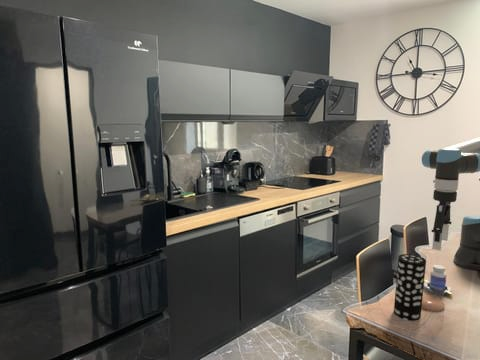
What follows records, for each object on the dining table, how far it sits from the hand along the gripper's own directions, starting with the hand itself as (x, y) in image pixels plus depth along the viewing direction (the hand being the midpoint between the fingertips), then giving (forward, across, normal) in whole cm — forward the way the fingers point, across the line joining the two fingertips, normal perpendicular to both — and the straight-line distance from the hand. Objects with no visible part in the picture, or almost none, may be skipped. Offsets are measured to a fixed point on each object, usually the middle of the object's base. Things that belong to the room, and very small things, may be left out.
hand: (440, 244), depth 133 cm
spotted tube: (+19, +26, -4) cm, 32 cm away
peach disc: (+19, +13, 0) cm, 23 cm away
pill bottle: (+19, 0, 0) cm, 19 cm away
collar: (+19, 0, 0) cm, 19 cm away
